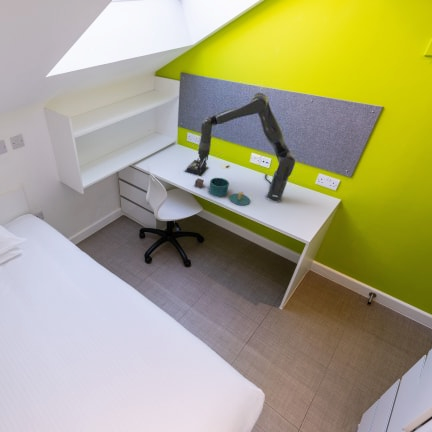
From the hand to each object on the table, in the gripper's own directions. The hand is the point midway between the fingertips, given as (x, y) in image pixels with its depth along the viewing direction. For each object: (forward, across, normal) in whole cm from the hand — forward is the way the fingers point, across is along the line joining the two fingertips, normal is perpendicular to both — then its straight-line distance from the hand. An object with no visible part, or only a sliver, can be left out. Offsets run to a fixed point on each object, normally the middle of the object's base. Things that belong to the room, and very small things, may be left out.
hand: (201, 169), depth 207 cm
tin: (+14, -1, -15) cm, 20 cm away
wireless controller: (+14, +24, +12) cm, 30 cm away
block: (+14, 0, 0) cm, 14 cm away
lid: (+13, -2, -31) cm, 34 cm away
